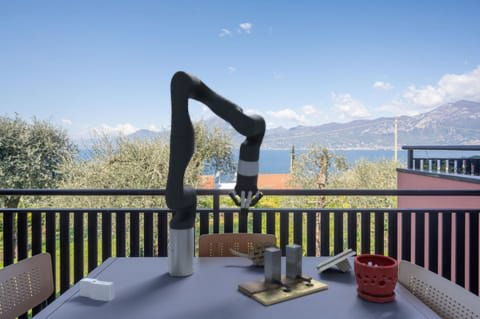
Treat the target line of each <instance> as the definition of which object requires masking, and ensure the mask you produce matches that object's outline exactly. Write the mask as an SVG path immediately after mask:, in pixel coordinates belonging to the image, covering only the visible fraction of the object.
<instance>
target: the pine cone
mask: <svg viewBox="0 0 480 319" xmlns="http://www.w3.org/2000/svg"><path fill="white" fill-rule="evenodd" d="M268 248H277V249H280V250H281V248H280V247H279V245H276V244H275V243H273V242H272V241H265V240H264V241H262V242H259V244H258V243H256V244H254V245H253V246H251V247H250V250H249V254H245V253H240V252H237V251H236V250H234V249H232V248H229V251H230V253H231V254H233V255H235V256H237V257H241V258H244V259H248V260H250V261H251V262H252V264H253V265H254V267H255V266H257V265H258V266H261V267H263V266H264V267H265V249H268ZM281 253H282V250H281ZM281 257H282V254H281Z"/></svg>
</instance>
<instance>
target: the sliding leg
mask: <svg viewBox="0 0 480 319" xmlns="http://www.w3.org/2000/svg"><path fill="white" fill-rule="evenodd" d="M281 251H282V249H281V248H280V249H277V248H268V249H265V265H264V279H265V281H266V282H268V283H270V284H275V283H277V284H279V285H281V286H283V287H286V288H288V289H289V288H290V286H289V285H287V284H284V283H282V282H281V275H282V256H281V255H282V252H281Z"/></svg>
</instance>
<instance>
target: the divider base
mask: <svg viewBox="0 0 480 319" xmlns="http://www.w3.org/2000/svg"><path fill="white" fill-rule="evenodd" d="M312 279H313V277H312V276H309V275H307V274H305V273H303V246H301V245H299V244H296V243H293V244H288V245H287V244H286V245H285V273H284V274H281V282H282V283H284V284H287V285H292V284H296V283H300V282H304V281H306V282H308V283H311V280H312ZM280 287H283V286H281V285H279V284H277V283H275V284H270V283H268V282H266V281H265V278H261V279H257V280H253V281H248V282H247V281H246V282H243V283H240V284H237V290H238V291H240V292H242V293H244V294H245V295H247V296H249V297H251V298H253V294H257V293H261V292H265V291H269V290H273V289H276V288H280Z"/></svg>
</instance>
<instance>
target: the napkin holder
mask: <svg viewBox="0 0 480 319" xmlns="http://www.w3.org/2000/svg"><path fill="white" fill-rule="evenodd" d="M79 282H80V283H79V284H80V288H79V290H80V291H79V292H80V293H79V294H80V295H79V296H80V297H87V298H89V299H90V300H97V301H103V302H104V301H105V302H111V301H112V300H114V299H115V282H111V281H101V280H98V279H97V278H91V277H90V278H89V277H87V278H86V277H85V278H82V279H81V280H79Z"/></svg>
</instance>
